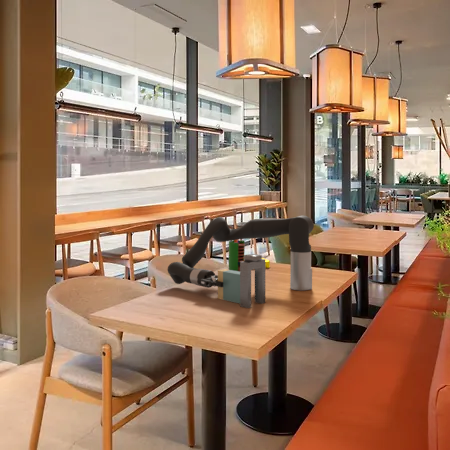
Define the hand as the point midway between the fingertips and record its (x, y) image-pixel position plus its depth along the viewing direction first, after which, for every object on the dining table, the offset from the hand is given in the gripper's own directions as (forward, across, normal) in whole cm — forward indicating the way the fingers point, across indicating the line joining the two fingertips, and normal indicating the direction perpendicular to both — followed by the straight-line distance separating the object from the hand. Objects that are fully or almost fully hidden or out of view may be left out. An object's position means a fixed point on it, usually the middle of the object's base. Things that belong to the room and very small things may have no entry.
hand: (229, 283), depth 211 cm
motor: (-40, -50, -7) cm, 64 cm away
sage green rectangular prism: (+2, 0, -7) cm, 7 cm away
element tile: (-40, -64, -8) cm, 76 cm away
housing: (+13, 0, -7) cm, 14 cm away
